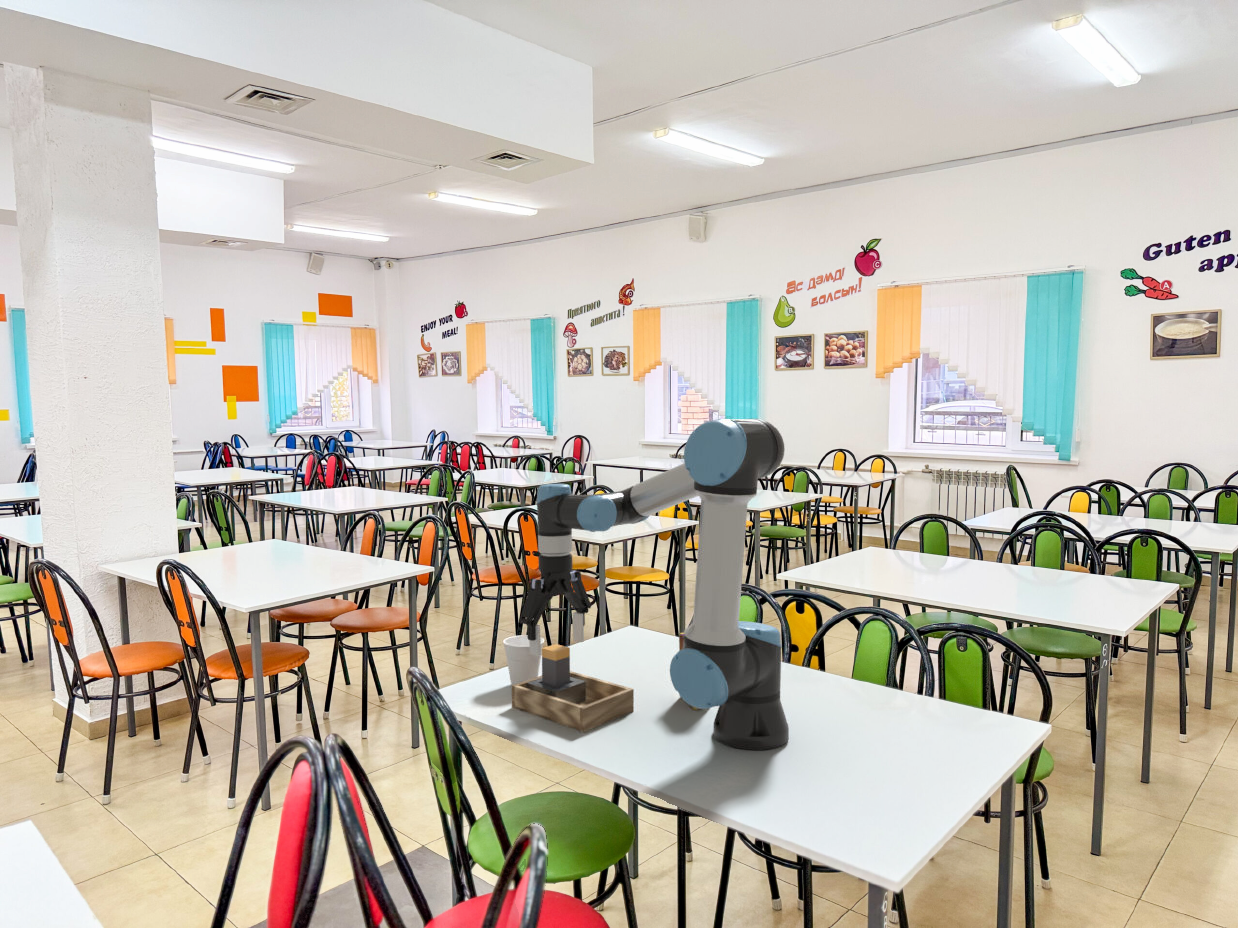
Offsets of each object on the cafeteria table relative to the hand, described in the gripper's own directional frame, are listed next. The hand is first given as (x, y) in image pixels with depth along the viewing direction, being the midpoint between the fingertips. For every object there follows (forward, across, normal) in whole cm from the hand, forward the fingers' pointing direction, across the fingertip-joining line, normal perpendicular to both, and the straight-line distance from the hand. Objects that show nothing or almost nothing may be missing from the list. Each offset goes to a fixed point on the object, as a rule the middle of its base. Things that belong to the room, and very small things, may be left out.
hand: (557, 647), depth 190 cm
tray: (+13, 0, +4) cm, 14 cm away
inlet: (+13, 0, -1) cm, 13 cm away
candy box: (+14, -21, +22) cm, 34 cm away
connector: (+12, 0, -1) cm, 12 cm away
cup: (+13, -4, -16) cm, 21 cm away
